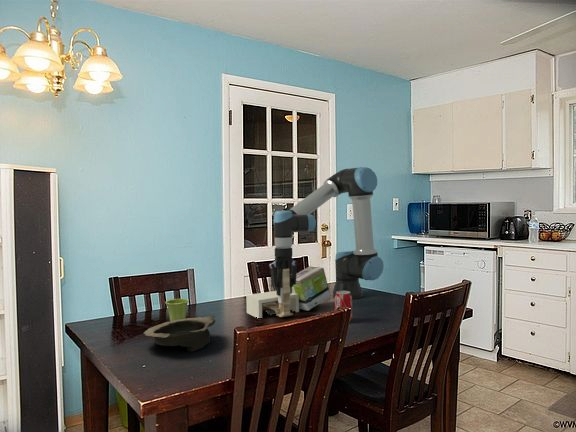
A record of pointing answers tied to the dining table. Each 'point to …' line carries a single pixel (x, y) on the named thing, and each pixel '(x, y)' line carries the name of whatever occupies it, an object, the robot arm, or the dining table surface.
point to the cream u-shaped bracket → (256, 301)
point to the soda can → (343, 300)
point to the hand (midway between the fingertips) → (284, 302)
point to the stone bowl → (183, 332)
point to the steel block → (272, 312)
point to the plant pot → (177, 309)
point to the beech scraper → (285, 307)
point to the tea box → (311, 287)
